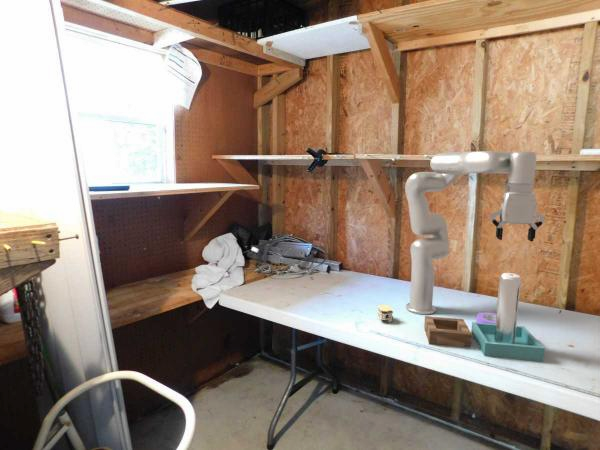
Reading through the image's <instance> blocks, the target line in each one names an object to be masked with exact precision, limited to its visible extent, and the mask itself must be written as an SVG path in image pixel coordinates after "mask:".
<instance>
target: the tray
mask: <svg viewBox="0 0 600 450" xmlns="http://www.w3.org/2000/svg"><path fill="white" fill-rule="evenodd" d="M470 329H471V330H470V332H471V333H472V338H473V339H474V341H475V343H476V345H477V346H478V347H479V350H480V351H481V352H482V355H483V356H484V357H492V358H505V359H516V360H525V361H536V362H544V357H545V349H546V348H545V347H544V346H543V345H542V344H541V342H539V341H538V339H536V337H535V336H534V335H533V334H532V333H531V331H529V330H528V328H526V327H525V326H524V325H517V326H516V336H515V344H507V343H496V342H494V334H495V324H489V323H477V321H473V322H471V328H470Z"/></svg>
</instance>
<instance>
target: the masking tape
mask: <svg viewBox="0 0 600 450" xmlns="http://www.w3.org/2000/svg"><path fill="white" fill-rule="evenodd" d="M476 322H477V323H489V324H495V323H496V313H494V312H480V313H477V315H476Z"/></svg>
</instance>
